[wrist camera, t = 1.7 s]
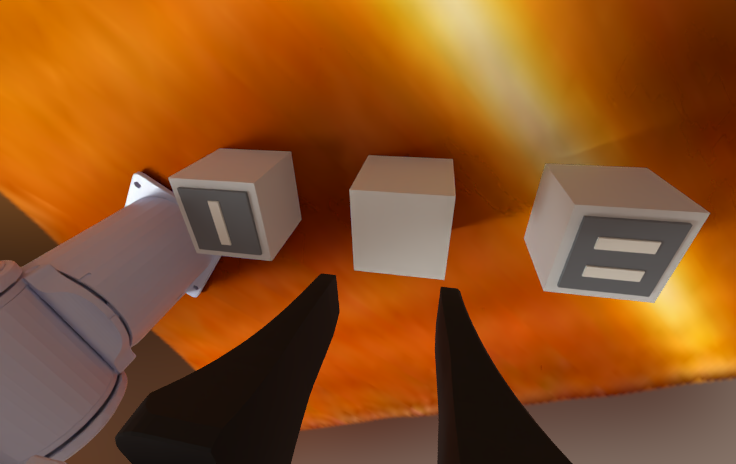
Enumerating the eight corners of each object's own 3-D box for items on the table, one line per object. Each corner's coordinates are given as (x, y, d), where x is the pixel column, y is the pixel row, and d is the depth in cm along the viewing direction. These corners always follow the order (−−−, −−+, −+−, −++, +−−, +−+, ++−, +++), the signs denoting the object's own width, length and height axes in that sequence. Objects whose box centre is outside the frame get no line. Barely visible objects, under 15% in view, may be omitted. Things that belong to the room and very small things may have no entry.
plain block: (370, 224, 22) (354, 270, 18) (368, 154, 20) (349, 189, 16) (443, 230, 22) (444, 279, 17) (452, 158, 19) (455, 196, 15)
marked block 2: (523, 237, 21) (545, 295, 16) (544, 162, 18) (577, 207, 14) (610, 244, 20) (657, 307, 15) (646, 167, 17) (715, 216, 13)
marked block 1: (238, 213, 24) (193, 256, 20) (220, 147, 21) (164, 180, 17) (302, 218, 23) (269, 264, 19) (291, 151, 21) (251, 185, 16)
